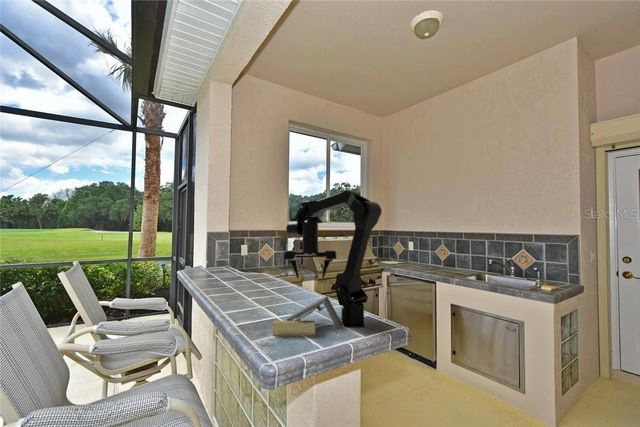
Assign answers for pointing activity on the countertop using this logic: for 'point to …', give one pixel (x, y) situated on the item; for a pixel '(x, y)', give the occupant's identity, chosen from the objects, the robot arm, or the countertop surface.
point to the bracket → (315, 305)
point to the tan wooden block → (293, 328)
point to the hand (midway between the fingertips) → (310, 278)
